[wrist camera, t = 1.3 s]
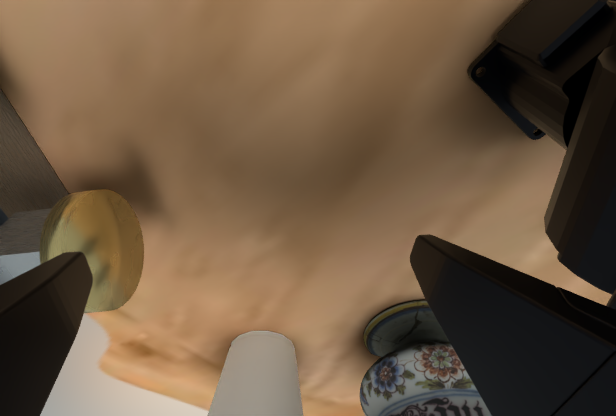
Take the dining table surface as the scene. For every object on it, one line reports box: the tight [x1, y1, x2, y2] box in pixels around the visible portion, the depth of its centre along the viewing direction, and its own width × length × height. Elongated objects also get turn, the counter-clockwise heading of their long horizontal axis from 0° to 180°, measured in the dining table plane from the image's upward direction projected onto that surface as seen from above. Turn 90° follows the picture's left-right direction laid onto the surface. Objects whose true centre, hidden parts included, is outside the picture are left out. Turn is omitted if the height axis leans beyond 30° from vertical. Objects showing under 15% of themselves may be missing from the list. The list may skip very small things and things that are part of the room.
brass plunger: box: [0, 189, 144, 313], centre depth 18 cm, size 5×6×6 cm
